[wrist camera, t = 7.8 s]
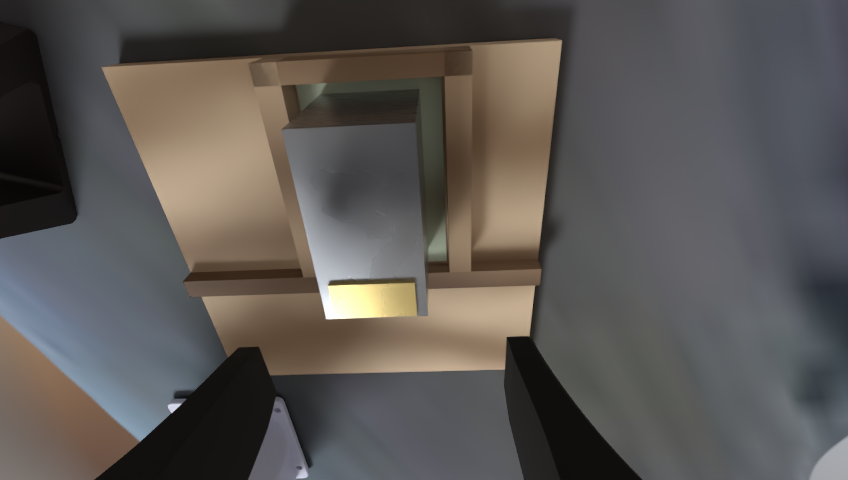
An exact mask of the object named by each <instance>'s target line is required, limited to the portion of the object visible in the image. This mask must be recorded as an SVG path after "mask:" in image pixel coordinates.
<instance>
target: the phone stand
mask: <svg viewBox="0 0 848 480" xmlns="http://www.w3.org/2000/svg"><path fill="white" fill-rule="evenodd" d="M57 132H58V128H57V124H56V120H55V115H54V111H53V106H52V102H51V98H50V93H49V89H48V84H47V80H46V76H45V71H44V67H43V62H42V58H41V54H40V49H39V45H38V41H37V37H36V35H35V34H34V32H32V31H31V30H27V29H23V28H19V27H15V26H11V25H7V24H3V23H0V239H1V238H5V237H10V236H15V235H19V234H24V233H29V232H33V231H38V230H43V229H47V228H52V227H57V226H61V225H66V224H71V223H73V222H74V221H75V220H76V217H77V212H76V207H75V203H74V199H73V194H72V190H71V185H70V181H69V177H68V172H67V168H66V163H65V159H64V155H63V150H62V146H61V142H60V139H57V138H56V133H57Z"/></svg>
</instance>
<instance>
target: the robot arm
mask: <svg viewBox="0 0 848 480" xmlns="http://www.w3.org/2000/svg"><path fill="white" fill-rule="evenodd" d="M504 388H505V395H506V402H507V409H508V415H509V421H510V425H511V430H512V434H513V438H514V441H515V445H516V449H517V453H518V457H519V461H520V465H521V469H522V473H523V477H524V480H642V479H641V478H640V477H639V476H638V475H637V474H636V473H635V472H634V471H633V470H632V469H631V468H630V467H629V465H628V464H627V463H626V462H625V461H624V460H623V459H622V458H621V457H620V456H619V455H618V454H617V453H616V452H615V450H614V449H613V448H612V447H611V446H610V445H609V444H608V443H607V441H606V440H605V439H604V438H603V437H602V436H601V435H600V433H599V432H598V431H597V430H596V429H595V427H594V426H593V425H592V424H591V423H590V421H589V420H588V419H587V418H586V417H585V415H584V414H583V413H582V411H581V410H580V409H579V408H578V406H577V405H576V404H575V402H574V401H573V400H572V398H571V397H570V396H569V394H568V393H567V392H566V390H565V389H564V388H563V386H562V385H561V384H560V382H559V381H558V379H557V378H556V376H555V375H554V374H553V372H552V371H551V369H550V368H549V366H548V365H547V363H546V362H545V360H544V358H543V357H542V355H541V354H540V352H539V350H538V349H537V347H536V345H535V344H534V342H533V340H532V339H531V338H530V337H529V336H514V337H507V340H506V359H505V378H504ZM276 394H277V392H276V390H275V387H274V384H273V382H272V379H271V377H270V374H269V371H268V369H267V366H266V364H265V361H264V358H263V356H262V353H261V351H260V348H259V347H239V348H238V349H236V350H235V351H234V352H233V353H232V354H231V355H230V356H229V357H228V358H227V359H226V360H225V361H224V362H223V363H222V364H221V365H220V366H219V367H218V368H217V369H216V370H215V371H214V372H213V373H212V374H211V375H210V376H209V377H208V378H207V379H206V380H205V381H204V382H203V383H202V384H201V385H200V386H199V387H198V388H197V389H196V390H195V391H194V392H193V393H192V394H191V395H190V396H189V397H188V398H187V399H172V400H171V401H170V403H169V404H168V408H169V410H170V411H171V414H170V415H169V416H168V417H167V418H166V419H165V420H164V421H163V422H162V423H160V424H159V425H158V426H157V427H156V428H155V429H154V430H153V431H152V432H151V433H150V434H148V435H147V436H146V437H145V438H144V439H143V440H142V441H141V442H140V443H139V444H137V445H136V446H135V447H134V448H133V449H132V450H130V451H129V452H128V453H127V454H126V455H124V456H123V457H122V458H121V459H120V460H118V461H117V462H116V463H115V464H113V465H112V466H111V467H110V468H108V469H107V470H106V471H105V472H104V473H102V474H101V475H100V476H99V477H97V478H96V479H95V480H295V479H296V478H306V477H308V475H309V468H308V466H307V463H306V460H305V457H304V455H303V452H302V449H301V446H300V444H299V441H298V438H297V435H296V432H295V430H294V427H293V424H292V421H291V419H290V416H289V413H288V410H287V408H286V405H285V402H284V400H283V399H282V398H280V397H276Z"/></svg>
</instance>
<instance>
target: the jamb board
mask: <svg viewBox="0 0 848 480" xmlns="http://www.w3.org/2000/svg"><path fill="white" fill-rule="evenodd" d="M561 46H562V40H559V39H557V38H546V39H529V40H512V41H495V42H478V43H461V44H444V45H427V46H410V47H393V48H376V49H359V50H342V51H325V52H308V53H291V54H274V55H257V56H240V57H223V58H206V59H189V60H172V61H154V62H137V63H120V64H114V65H110V66H105V67H102V69H103V72H104V74H105V76H106V79H107V81H108V83H109V86H110V88H111V90H112V92H113V95H114V97H115V99H116V102H117V104H118V106H119V108H120V111H121V113H122V115H123V118H124V120H125V122H126V125H127V127H128V129H129V131H130V134H131V136H132V138H133V141H134V143H135V145H136V148H137V150H138V152H139V154H140V157H141V159H142V161H143V164H144V166H145V168H146V171H147V173H148V175H149V177H150V180H151V182H152V184H153V187H154V189H155V191H156V193H157V196H158V198H159V200H160V203H161V205H162V207H163V210H164V212H165V214H166V216H167V219H168V221H169V223H170V226H171V228H172V230H173V233H174V235H175V237H176V239H177V242H178V244H179V246H180V249H181V251H182V253H183V255H184V258H185V260H186V262H187V265H188V267H189V269H190V272H191V273H190V274H189V275H188V276H187V278H186V279H185V280H184V281H183V283H184V285H185V288H186V290H187V292H188V294H189V296H190V297H202V299H203V301H204V304H205V306H206V308H207V311H208V313H209V315H210V317H211V320H212V322H213V324H214V327H215V329H216V331H217V334H218V336H219V338H220V340H221V343H222V345H223V347H224V350H225V352H226V354H227V357H229V356H230V355H231V354H232V353H233V352H234V351H235V350H236V349H238V348H239V347H259V348H260V351H261V353H262V356H263V358H264V361H265V364H266V366H267V369H268V371H269V374H270V375H302V374H341V373H380V372H419V371H459V370H498V369H505V359H506V340H507V337H514V336H530V326H531V317H532V308H533V299H534V290H535V285H540V278H541V270H542V269H541V266H540V264H539V261H538V254H539V245H540V236H541V227H542V218H543V209H544V200H545V191H546V182H547V173H548V164H549V155H550V146H551V137H552V127H553V118H554V109H555V100H556V91H557V82H558V73H559V64H560V55H561ZM407 89H420V106H421V123H422V141H423V158H424V176H425V193H426V211H427V229H428V246H429V254H428V316H412V317H379V318H347V319H326V315H325V311H324V307H323V303H322V298H321V294H320V290H319V286H318V282H317V277H316V273H315V269H314V265H313V261H312V256H311V252H310V248H309V244H308V240H307V235H306V231H305V227H304V223H303V219H302V214H301V210H300V206H299V202H298V198H297V193H296V189H295V185H294V181H293V177H292V172H291V168H290V164H289V160H288V156H287V151H286V147H285V143H284V139H283V135H282V130H281V129H282V128H284V127H285V126H286V125H287V124H288V123H289V122H290V121H291V120H292V119H294V118H295V117H296V116H297V115H298V114H299V113H300V112H301V111H302V110H304V109H305V108H306V107H307V106H308V105H309V104H310V103H311V102H312V101H314V100H315V99H316V98H317V97H318V96H319V95H320V94H332V93H351V92H370V91H388V90H407Z"/></svg>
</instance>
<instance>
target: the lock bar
mask: <svg viewBox="0 0 848 480" xmlns="http://www.w3.org/2000/svg"><path fill="white" fill-rule="evenodd" d="M281 130H282V135H283V139H284V143H285V147H286V151H287V156H288V160H289V164H290V168H291V172H292V177H293V181H294V185H295V189H296V193H297V198H298V202H299V206H300V210H301V214H302V219H303V223H304V227H305V231H306V235H307V240H308V244H309V248H310V252H311V256H312V261H313V265H314V269H315V273H316V277H317V282H318V286H319V290H320V294H321V298H322V303H323V307H324V311H325V315H326V319H347V318H379V317H412V316H428V254H429V246H428V229H427V211H426V193H425V176H424V158H423V141H422V123H421V106H420V89H407V90H388V91H370V92H351V93H332V94H320V95H319V96H318V97H317V98H316V99H315V100H314V101H312V102H311V103H310V104H309V105H308V106H307V107H306V108H305V109H304V110H302V111H301V112H300V113H299V114H298V115H297V116H296V117H295V118H294V119H292V120H291V121H290V122H289V123H288V124H287V125H286V126H285V127H284V128H282V129H281Z"/></svg>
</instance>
